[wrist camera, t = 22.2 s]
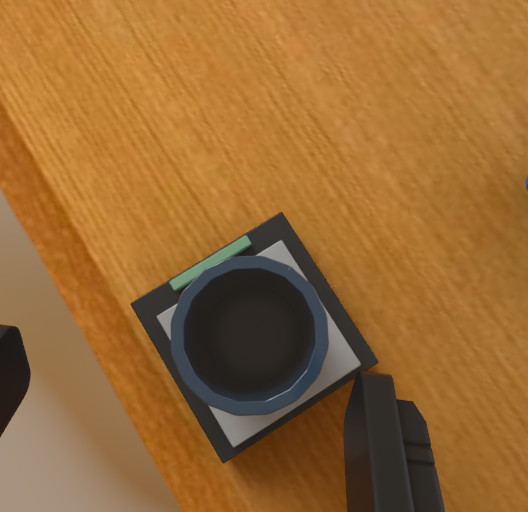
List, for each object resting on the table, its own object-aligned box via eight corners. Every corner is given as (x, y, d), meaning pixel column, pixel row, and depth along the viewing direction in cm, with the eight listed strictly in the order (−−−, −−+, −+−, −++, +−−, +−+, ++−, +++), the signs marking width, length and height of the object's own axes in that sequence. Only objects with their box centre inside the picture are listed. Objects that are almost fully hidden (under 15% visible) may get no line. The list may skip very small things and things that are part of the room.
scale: (138, 305, 30) (126, 302, 27) (280, 219, 31) (282, 207, 28) (225, 455, 28) (221, 468, 26) (371, 360, 29) (382, 362, 26)
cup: (182, 308, 27) (146, 295, 18) (279, 263, 27) (287, 231, 19) (226, 409, 26) (209, 443, 18) (325, 361, 26) (355, 373, 18)
